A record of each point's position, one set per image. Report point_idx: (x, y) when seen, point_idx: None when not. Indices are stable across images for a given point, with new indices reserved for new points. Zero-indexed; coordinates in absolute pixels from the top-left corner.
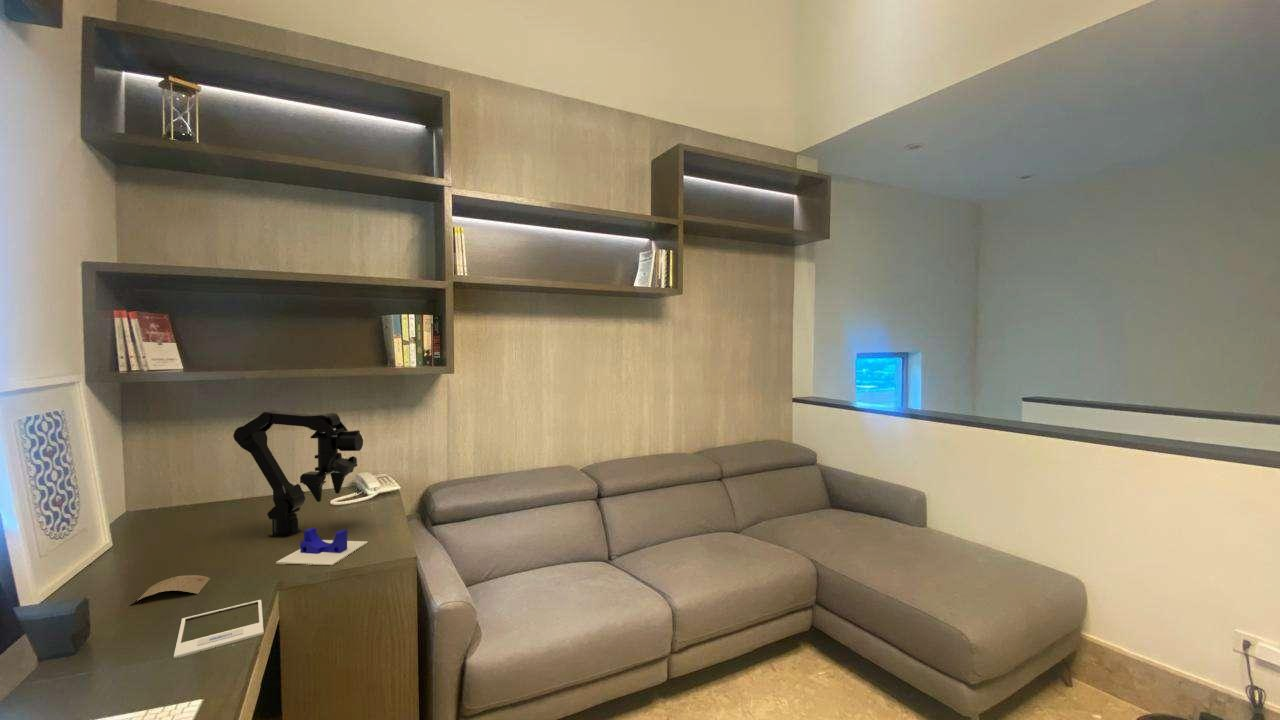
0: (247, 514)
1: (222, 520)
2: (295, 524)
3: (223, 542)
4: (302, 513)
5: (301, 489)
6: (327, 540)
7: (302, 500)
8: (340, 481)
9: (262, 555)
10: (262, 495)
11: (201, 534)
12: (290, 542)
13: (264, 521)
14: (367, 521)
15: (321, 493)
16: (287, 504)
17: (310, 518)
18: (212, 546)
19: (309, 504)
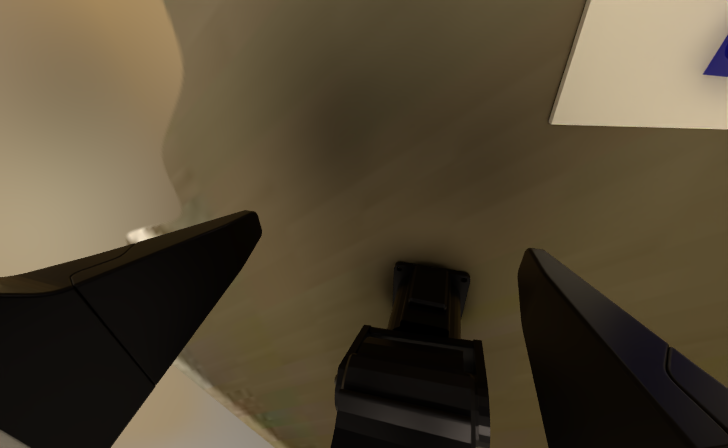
0: (309, 394)
1: None
2: (428, 286)
3: (498, 392)
4: (268, 312)
5: (336, 431)
6: (584, 47)
7: (376, 360)
8: (133, 273)
9: (706, 266)
10: (222, 396)
11: None
12: (535, 236)
13: (340, 361)
14: (251, 42)
15: (582, 310)
16: (488, 406)
17: (293, 280)
18: (529, 403)
19: (216, 320)
